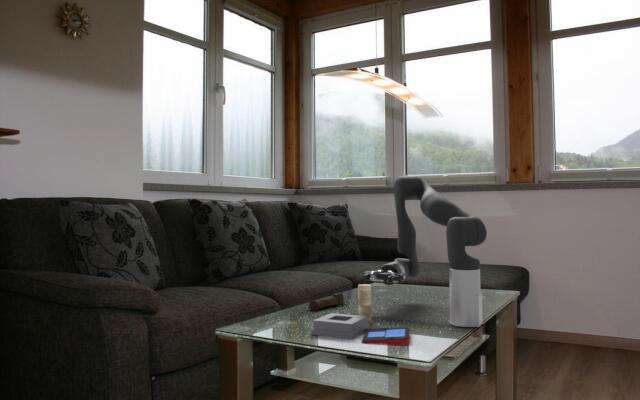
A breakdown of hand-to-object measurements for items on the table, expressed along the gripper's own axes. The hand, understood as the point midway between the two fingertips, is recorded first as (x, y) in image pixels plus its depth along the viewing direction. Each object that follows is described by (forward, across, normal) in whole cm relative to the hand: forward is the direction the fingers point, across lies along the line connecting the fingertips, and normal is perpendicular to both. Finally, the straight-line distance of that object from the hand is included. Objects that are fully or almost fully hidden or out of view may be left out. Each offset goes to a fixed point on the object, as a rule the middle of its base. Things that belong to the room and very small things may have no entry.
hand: (376, 279), depth 176 cm
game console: (+27, +13, +13) cm, 32 cm away
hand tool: (-10, -23, +13) cm, 28 cm away
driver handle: (+12, 0, +12) cm, 17 cm away
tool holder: (+26, -2, +12) cm, 28 cm away
